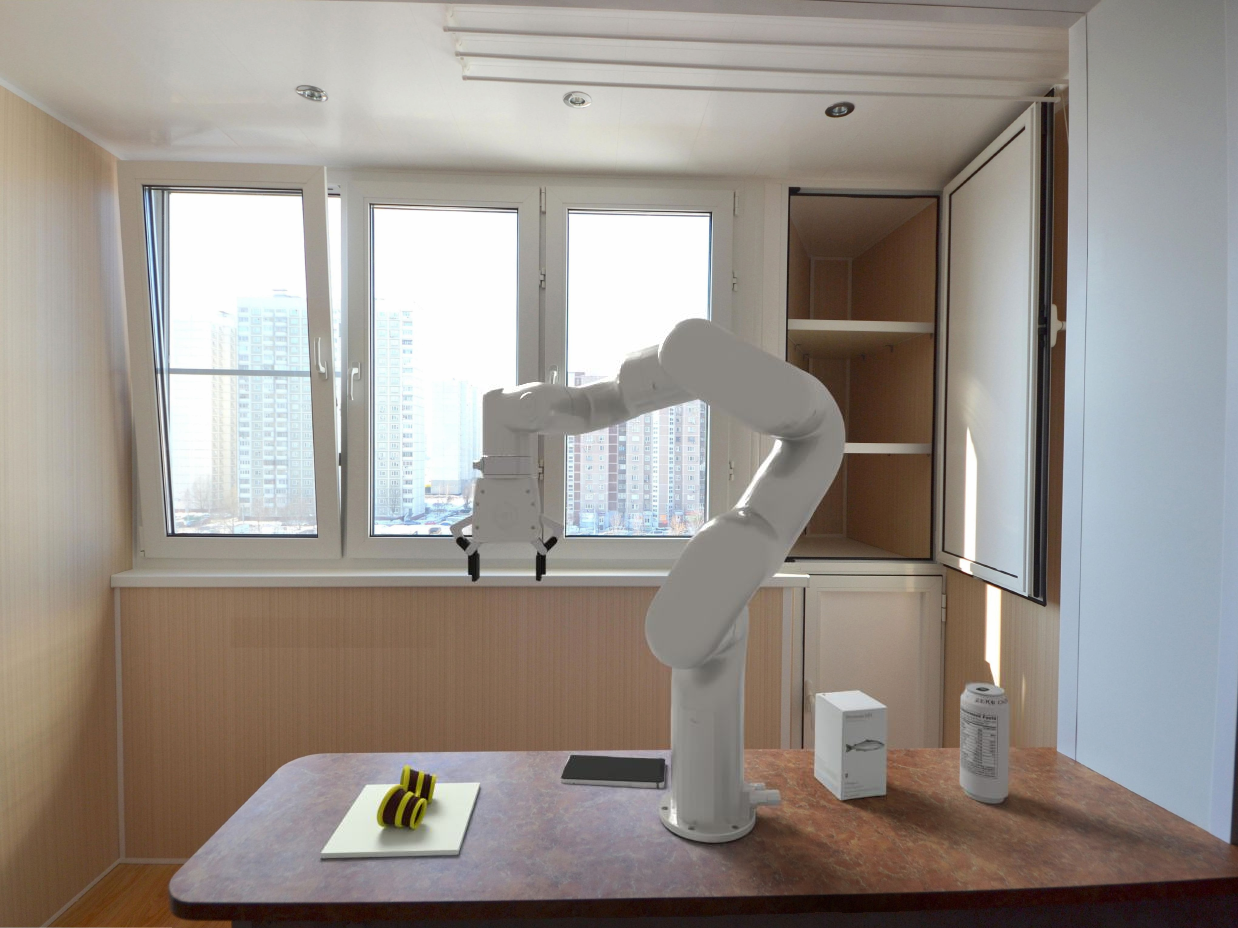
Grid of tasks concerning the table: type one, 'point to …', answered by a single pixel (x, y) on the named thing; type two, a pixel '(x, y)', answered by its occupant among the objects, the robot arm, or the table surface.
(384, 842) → the mat
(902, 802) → the table surface
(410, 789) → the opera glasses
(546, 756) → the table surface
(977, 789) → the energy drink can
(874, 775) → the supplement box
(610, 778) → the smartphone
